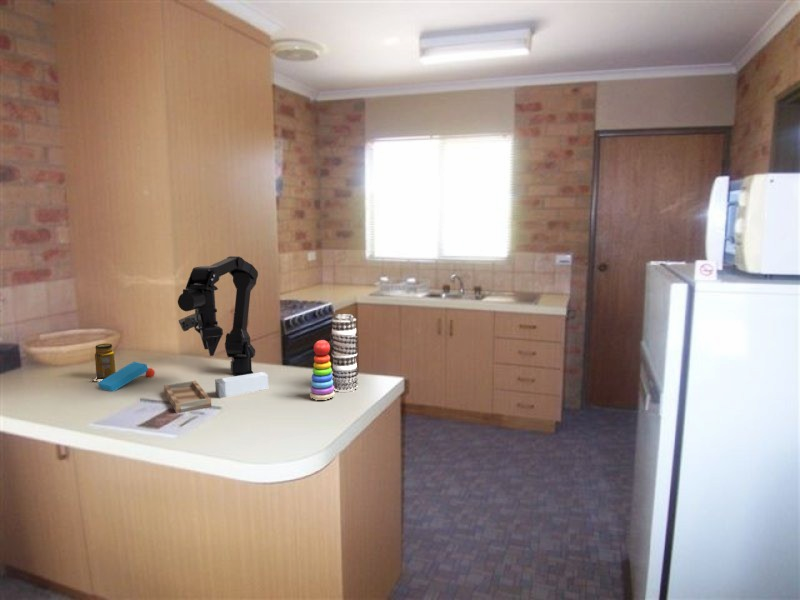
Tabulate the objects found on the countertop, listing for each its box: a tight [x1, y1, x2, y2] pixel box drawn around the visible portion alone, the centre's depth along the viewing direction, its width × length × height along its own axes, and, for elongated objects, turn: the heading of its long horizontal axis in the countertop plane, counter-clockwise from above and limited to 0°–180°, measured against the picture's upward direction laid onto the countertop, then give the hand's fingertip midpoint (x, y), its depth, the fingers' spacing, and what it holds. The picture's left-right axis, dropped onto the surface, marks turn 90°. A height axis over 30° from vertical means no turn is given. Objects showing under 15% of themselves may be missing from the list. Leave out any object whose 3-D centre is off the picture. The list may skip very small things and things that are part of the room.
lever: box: [97, 361, 156, 392], centre depth 190 cm, size 7×7×18 cm
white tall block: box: [214, 371, 269, 399], centre depth 179 cm, size 16×4×5 cm, turn 122°
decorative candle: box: [329, 313, 359, 390], centre depth 181 cm, size 9×9×25 cm
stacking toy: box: [309, 339, 336, 401], centre depth 173 cm, size 8×8×19 cm
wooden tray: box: [163, 380, 212, 414], centre depth 172 cm, size 21×10×2 cm, turn 32°
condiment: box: [90, 343, 116, 383], centre depth 194 cm, size 7×8×12 cm
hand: (209, 352), depth 180 cm, fingers open, 9 cm apart
